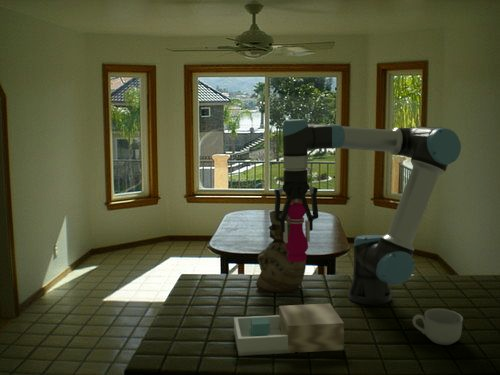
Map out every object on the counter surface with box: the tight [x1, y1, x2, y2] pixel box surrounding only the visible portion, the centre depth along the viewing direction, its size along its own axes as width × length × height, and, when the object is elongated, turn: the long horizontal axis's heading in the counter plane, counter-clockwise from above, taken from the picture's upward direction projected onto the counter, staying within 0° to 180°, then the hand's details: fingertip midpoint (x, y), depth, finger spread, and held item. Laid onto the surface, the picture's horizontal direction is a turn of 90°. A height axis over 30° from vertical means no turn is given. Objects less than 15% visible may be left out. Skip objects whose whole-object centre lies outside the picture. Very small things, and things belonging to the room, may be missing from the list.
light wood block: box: [278, 302, 345, 354], centre depth 163 cm, size 16×16×8 cm
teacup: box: [412, 308, 464, 346], centre depth 161 cm, size 14×11×8 cm
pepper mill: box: [285, 199, 309, 262], centre depth 174 cm, size 7×7×20 cm
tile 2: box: [251, 317, 270, 335], centre depth 160 cm, size 5×5×3 cm
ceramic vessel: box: [255, 209, 307, 294], centre depth 208 cm, size 19×21×30 cm
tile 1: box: [249, 327, 268, 337], centre depth 161 cm, size 5×5×3 cm
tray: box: [233, 314, 289, 357], centre depth 161 cm, size 14×16×5 cm
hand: (296, 241), depth 174 cm, fingers closed on pepper mill, 6 cm apart
